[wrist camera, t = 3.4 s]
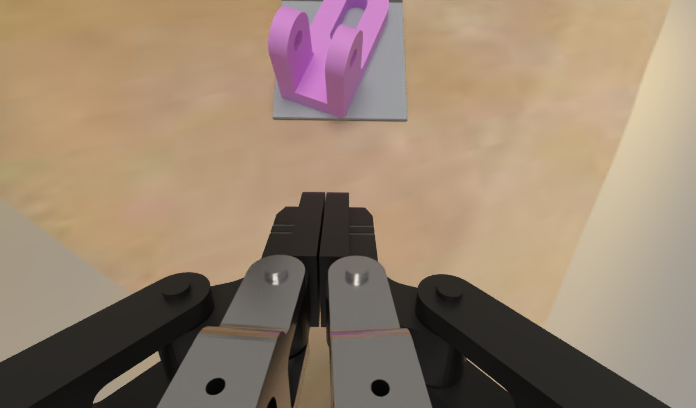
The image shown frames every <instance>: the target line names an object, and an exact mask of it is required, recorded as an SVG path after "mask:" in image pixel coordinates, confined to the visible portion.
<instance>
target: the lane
mask: <svg viewBox="0 0 696 408" xmlns="http://www.w3.org/2000/svg"><path fill="white" fill-rule="evenodd" d="M322 2H323V0H282V7H283V6H287V7H290V8H293V9H296V10H299V11H302V12H305V13H306V14H307V16H308V20H309V27H310V25H311V23H312V21H313V20H314V18H315V16H316V14H317V12H318V10H319V8H320V6H321V4H322ZM364 11H365V10H363V9H362V8H359V7H353V8H351V9H349V10H348V11H347V13H346V15H345V17H344V19H343V21H342V23H341V24H343V25H346V26H349V27H352V28H355V29H356V28H357V26H358V24H359V22H360V20H361V17H362V15H363V13H364ZM273 119H309V120H379V121H407V103H406V79H405V55H404V31H403V7H402V0H389V9H388V16H387V22H386V25H385V27H384V29H383V31H382V34H381V36H380V38H379V40H378V43H377V45H376V47H375V50H374V52H373V54H372V56H371V59H370V61H369V63H368V65H367V68H366V70H365V72H364V75H363V77H362V79H361V81H360V84H359V86H358V88H357V90H356V93H355V95H354V97H353V99H352V102H351V104H350V106H349V109H348V111H347V113H346V115H345V118H344V119H343V118H340V117H337V116H334V115H332V114H329V113H326V112H323V111H320V110H317V109H314V108H311V107H309V106H306V105H303V104H300V103H297V102H294V101H291V100H289V99H286V98H283V97H281V93H280V90H279V86H278V83H277V79H276V81H275V93H274V105H273Z"/></svg>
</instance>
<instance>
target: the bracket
mask: <svg viewBox="0 0 696 408" xmlns="http://www.w3.org/2000/svg"><path fill="white" fill-rule="evenodd" d="M353 7H359V8H362V9H363V10H365V11H364V13H363V15H362V17H361V20H360V22H359V24H358V26H357V28H356V29H355V28H352V27H349V26H346V25H343V24H341V23H342V21H343V19H344V17H345V15H346V13H347V11H348V10H349V9H351V8H353ZM388 9H389V0H323V2H322V4H321V6H320V8H319V10H318V12H317V14H316V16H315V18H314V20H313V21H312V23H311V25H310V27H309V20H308V16H307V14H306V13H305V12H302V11H299V10H296V9H293V8H290V7H287V6H283V7H281V8H280V9H279V10H278V11H277V13H276V15H275V17H274V19H273V21H272V24H271V28H270V33H269V40H268V49H269V55H270V58H271V62H272V65H273V69H274V72H275V76H276V79H277V83H278V86H279V90H280V93H281V97H283V98H286V99H289V100H291V101H294V102H297V103H300V104H303V105H306V106H309V107H311V108H314V109H317V110H320V111H323V112H326V113H329V114H332V115H334V116H337V117H340V118H343V119H344V118H345V115H346V113H347V111H348V109H349V106H350V104H351V102H352V99H353V97H354V95H355V93H356V90H357V88H358V86H359V84H360V81H361V79H362V77H363V75H364V72H365V70H366V68H367V65H368V63H369V61H370V59H371V56H372V54H373V52H374V50H375V47H376V45H377V43H378V40H379V38H380V36H381V34H382V31H383V29H384V27H385V25H386V22H387V16H388Z"/></svg>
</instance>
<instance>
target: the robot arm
mask: <svg viewBox="0 0 696 408" xmlns="http://www.w3.org/2000/svg"><path fill="white" fill-rule="evenodd" d="M320 307H321V327H326V333H327V344H328V346H329V357H330V385H331V408H671V407H669V406H667V405H666V404H664V403H663V402H661V401H660V400H658V399H656V398H655V397H653V396H651V395H649V394H648V393H647V392H645V391H643V390H642V389H640V388H639V387H637V386H635V385H634V384H632V383H630V382H629V381H627V380H626V379H624V378H622V377H621V376H619V375H618V374H616V373H614V372H613V371H611V370H609V369H607V368H606V367H605V366H603V365H601V364H600V363H598V362H597V361H595V360H593V359H592V358H590V357H588V356H587V355H585V354H584V353H582V352H580V351H579V350H577V349H575V348H574V347H572V346H571V345H569V344H567V343H566V342H564V341H563V340H561V339H559V338H558V337H556V336H554V335H553V334H551V333H550V332H548V331H546V330H545V329H543V328H542V327H540V326H538V325H537V324H535V323H533V322H532V321H530V320H529V319H527V318H525V317H524V316H522V315H521V314H519V313H517V312H516V311H514V310H512V309H511V308H509V307H508V306H506V305H504V304H503V303H501V302H500V301H498V300H496V299H495V298H493V297H491V296H490V295H488V294H487V293H485V292H483V291H482V290H480V289H479V288H477V287H475V286H474V285H472V284H470V283H469V282H467V281H465V280H463V279H461V278H459V277H456V276H452V275H445V274H437V275H432V276H429V277H426V278H425V279H423V280H422V281H421V282H420V284H419V286H418V288H416V287H412V286H407V285H404V284H400V283H397V282H395V281H393V280H391V279H389V278H388V277H387V276H386V272H385V269H384V268H383V266H382V265H381V264H380V263H379V262H378V258H377V250H376V241H375V235H374V225H373V216H372V215H371V214H370V213H369V211H368V210H367V209H366V208H355V207H349V193H334V192H327V194H326V197H325V192H303V193H302V196H301V200H300V204H299V207H285V208H284V209H283V210H281V211H280V212H279V213H278V214H277V215H276V218H275V221H274V224H273V226H272V229H271V233H270V235H269V238H268V241H267V243H266V246H265V249H264V252H263V255H262V258H261V259H260V260H258V261H256V262H255V263H254V264H252V265H251V266H250V268H249V269H248V271H247V273H246V275H245V277H244V278H242V279H239V280H237V281H234V282H230V283H225V284H220V285H215V286H210V282H209V280H208V279H207V278H206V277H205V276H203V275H201V274H198V273H192V272H186V273H178V274H174V275H170V276H168V277H165V278H163V279H161V280H159V281H157V282H155V283H153V284H151V285H149V286H147V287H145V288H143V289H142V290H140V291H138V292H136V293H134V294H132V295H130V296H128V297H126V298H124V299H122V300H120V301H118V302H117V303H115V304H113V305H111V306H109V307H107V308H105V309H103V310H101V311H99V312H97V313H95V314H93V315H91V316H89V317H87V318H85V319H83V320H82V321H80V322H78V323H76V324H74V325H72V326H70V327H68V328H66V329H64V330H62V331H60V332H58V333H56V334H54V335H53V336H51V337H49V338H47V339H45V340H43V341H41V342H39V343H37V344H35V345H33V346H31V347H29V348H27V349H25V350H24V351H22V352H20V353H18V354H16V355H14V356H12V357H10V358H8V359H6V360H4V361H2V362H0V408H298V404H299V400H300V395H301V390H302V385H303V380H304V375H305V370H306V365H307V361H308V356H309V328H310V327H319V318H320ZM157 351H158V352H159V355H160V359H161V361H160V362H158V363H157V364H155V365H154V366H152V367H151V368H149V369H148V370H147V371H145V372H143V373H142V374H140V375H139V376H138V377H136V378H135V379H133V380H132V381H130V382H129V383H127V384H126V385H124V386H123V387H121V388H120V389H118V390H117V391H115V392H114V393H112V394H111V395H109V396H108V397H107V398H105V399H103V400H102V401H100V402H97V403H94V404H93V401H94V398H95V396H96V395H97V393H98V392H99V391H100V390H101V389H102V388H103V387H104V386H105V385H106V384H108V383H109V382H111V381H112V380H114V379H115V378H117V377H118V376H120V375H121V374H123V373H125V372H126V371H128V370H129V369H131V368H132V367H134V366H135V365H137V364H138V363H140V362H142V361H143V360H145V359H146V358H148V357H149V356H151V355H152V354H154V353H155V352H157ZM467 358H468V359H469V360H470V361H471V362H473V363H474V364H475V365H476V366H478V367H479V368H480V369H482V370H483V371H484V372H485V373H487V374H488V375H489V376H490V377H492V378H493V379H494V380H495V381H497V382H498V383H499V384H500V385H502V386H503V387H504V388H505V389H506V390H507V391H508V392H507V391H506V390H504V389H503V388H502V387H501V386H499V385H498V384H497V383H496V382H494V381H493V380H492V379H491V378H489V377H488V376H487V375H485V374H484V373H483V372H482V371H480V370H479V369H478V368H477V367H475V366H474V365H473V364H472V363H470V362H469V361H468V360H467Z"/></svg>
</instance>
